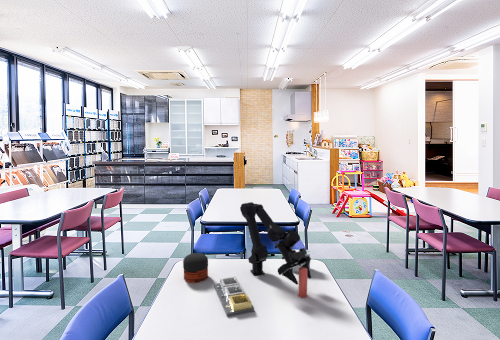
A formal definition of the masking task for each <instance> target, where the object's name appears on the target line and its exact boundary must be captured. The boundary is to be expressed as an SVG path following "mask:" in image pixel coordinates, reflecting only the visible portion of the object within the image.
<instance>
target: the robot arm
mask: <svg viewBox="0 0 500 340" xmlns="http://www.w3.org/2000/svg"><path fill="white" fill-rule="evenodd" d="M239 209H240V212H241V215H242V217H243V218H244V219H245V220H246V224H247V228H248V231H249V234H250V240H251V244H252V247H251V250H250V252H251V255H250V256H249V258H248V263H249V264H252V265H251V266H252V269H250V273H251V274H252V275H253V276H260V275H265V274H266V273H265V271H264V270H263V267H264V265H263V264H264V262H266V261H267V259H268V255H269V251H268V247H267V245H264V244H263V243H262V241H261V236H260V231H259V227H258V223H257V220H256V216H257V217H258V219H259V220H260V222H261V224H263V226H264V227H265V229H266V232H267V233H266V234H267V235H268V238H269V239H270V241H271V242H273V243H275V245H274V249H275V250H276V249H278V251H279V252H280V254H281V259H282V260H284V261H285V263H283V264H281V266H279V267H278V268H277V273H278V275H279V276H282V277H285V278H287V279H288V280H289V281H290V282H292V283H294V284H295V285H297V286H298V285H299V280H297V278H296V275H295V274H294V272H293V269H292V268H293V267H295V266H298V265H299V266H302V267H305V268H307V269H308V271H307V279H312V275H311V269H310V270H309V263H310V264H311V261H312V258H311V256H310V257H309V256H308V255H307V256H306V254H307V252H306V250H307V249H306V248H305V247H302V248H300V249H299V250H300V251H299V252H296V251H295V250H296V249H293V247H294V246H295V245H296V244H297V243H298V242H300V240H301V237H300V234H299V233H298V232H297V231H295V230H293V229H288V231H286V230H284V229H283V228H282V227H281V226H280V225H278V224H276V223H275V221H273V219H272V217H270V215H269V213H268V212H267V211H266V209H265V208H264V206H263V204H261V203H260V204H259V203H254V202H253V201H250V202H245V203H242V204H241V205H240V207H239ZM278 241H279V242H278ZM292 265H293V266H292ZM300 268H301V267H300Z"/></svg>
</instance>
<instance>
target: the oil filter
mask: <svg viewBox="0 0 500 340" xmlns="http://www.w3.org/2000/svg"><path fill="white" fill-rule="evenodd" d="M182 265H183V266H182V267H183V280H184V281H185V282H186V283H190V284H192V283H193V284H197V283H202V282H204V281H206V280H208V278H209V258H208V256H207V255H205V254H204V253H201V252H193V253H190V254H187V255H186V256H184V258H183V260H182Z"/></svg>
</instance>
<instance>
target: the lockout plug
mask: <svg viewBox="0 0 500 340" xmlns="http://www.w3.org/2000/svg"><path fill="white" fill-rule="evenodd" d="M307 271H308V269H307V268H305V267H301V268H299V272H298V290H297V291H298V297H299V298H301V299H302V298H303V299H305V298H307V297H308V277H307Z"/></svg>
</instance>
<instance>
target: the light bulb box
mask: <svg viewBox="0 0 500 340" xmlns="http://www.w3.org/2000/svg"><path fill="white" fill-rule="evenodd" d="M294 250H295V251H296V252H299V251H300V249H294ZM305 250H306V252H307V254H306V256H307V255H308V256H309V257H310V258H311V253H310V249H305ZM292 266H293V265H292ZM300 267H302V266H299V265H298V266H295V267H293V268H292V269H293V273H294V272H295V273H299V268H300ZM309 270H310V271H311V262H310V263H309Z"/></svg>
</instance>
